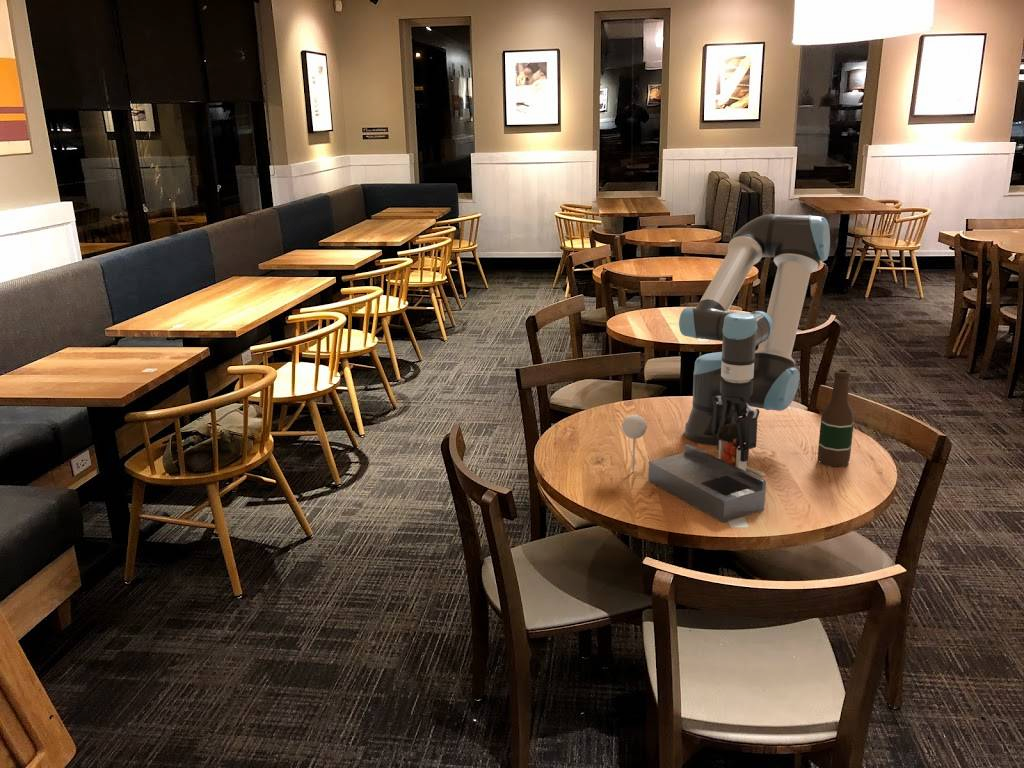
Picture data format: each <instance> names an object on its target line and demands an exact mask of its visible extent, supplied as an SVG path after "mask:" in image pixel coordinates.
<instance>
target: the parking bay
mask: <svg viewBox="0 0 1024 768" xmlns="http://www.w3.org/2000/svg"><path fill="white" fill-rule="evenodd" d="M746 471H747V472H748V471H749V472H751V473H753V474H755V475H756V476H757V475H758V477H759V476H760V477H761V478H762V477H765V476H766V473H764V472H761V471H759V470H757V469H756V468H753V467H751V466H748V465H747V464H746Z"/></svg>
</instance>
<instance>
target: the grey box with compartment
mask: <svg viewBox="0 0 1024 768" xmlns="http://www.w3.org/2000/svg"><path fill="white" fill-rule="evenodd" d="M647 477H648V478H647V480H648V482H650V483H652V485H656V486H657V487H659V488H661V489H662V490H664V491H665V492H668V493H669V494H671V495H673V496H675V497H676V498H678V499H681V500H682V501H684V502H685V503H687V504H689V505H691V506H693V507H694V508H696V509H698V510H700V511H702V512H703V513H705V514H707V515H709V516H711V517H712V518H714V519H716V520H717V521H720V522H721V523H728V522H730V521H733V520H736V519H739V518H743V517H746V516H748V515H751V514H755V513H758V512H761V511H764V510H765V503H766V491H767V489H766V488H767V480H765V479H763V478H762V477H761V478H760V477H759V476H757V475H756V474H755V475H754V473H753V474H752V473H750V472H748V471H747V470H746V471H744V470H742V469H740V468H738V467H736V466H733V465H731V464H729V463H727V462H725V461H723V460H721V459H718V457H716V456H713V455H712V454H710V453H707V452H705V451H704V450H702V449H699V448H697V447H695V446H693V445H691V444H689V443H687V444H684V452H681V453H677V454H673V455H669V456H666V457H662V458H658V459H653V460H651V461H650V460H649V461H648V476H647Z"/></svg>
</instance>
